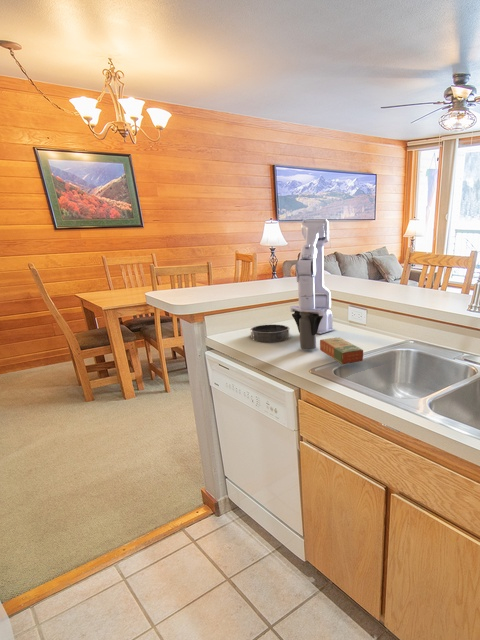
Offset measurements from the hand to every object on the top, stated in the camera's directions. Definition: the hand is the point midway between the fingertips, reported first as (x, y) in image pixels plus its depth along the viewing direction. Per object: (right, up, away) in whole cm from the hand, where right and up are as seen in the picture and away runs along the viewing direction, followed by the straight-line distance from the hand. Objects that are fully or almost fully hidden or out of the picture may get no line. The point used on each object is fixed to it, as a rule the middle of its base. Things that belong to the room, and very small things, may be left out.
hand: (307, 333), depth 150 cm
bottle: (0, -5, +2) cm, 6 cm away
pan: (-16, +1, +16) cm, 23 cm away
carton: (+12, -9, -9) cm, 18 cm away
